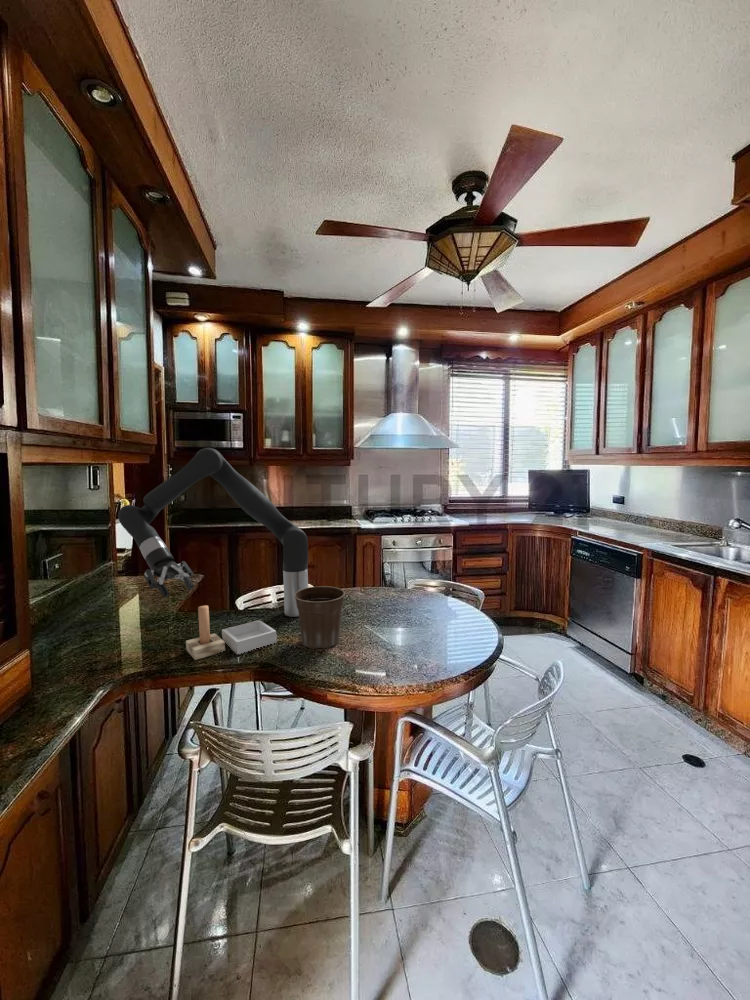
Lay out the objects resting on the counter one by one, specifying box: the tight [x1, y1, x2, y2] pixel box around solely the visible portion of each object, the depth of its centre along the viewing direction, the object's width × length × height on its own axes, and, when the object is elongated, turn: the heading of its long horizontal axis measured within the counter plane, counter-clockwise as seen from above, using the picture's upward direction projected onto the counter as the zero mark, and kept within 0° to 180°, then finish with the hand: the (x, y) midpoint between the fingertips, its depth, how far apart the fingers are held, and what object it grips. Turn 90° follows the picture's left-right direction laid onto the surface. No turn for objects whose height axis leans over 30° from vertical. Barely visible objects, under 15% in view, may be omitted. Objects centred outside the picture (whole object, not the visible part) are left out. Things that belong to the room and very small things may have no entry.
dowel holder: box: [185, 633, 226, 661], centre depth 134 cm, size 9×9×3 cm
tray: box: [221, 619, 278, 656], centre depth 140 cm, size 13×13×4 cm
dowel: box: [197, 605, 211, 645], centre depth 134 cm, size 3×3×14 cm
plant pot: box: [294, 585, 346, 650], centre depth 139 cm, size 16×16×16 cm
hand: (179, 592), depth 139 cm, fingers open, 8 cm apart
